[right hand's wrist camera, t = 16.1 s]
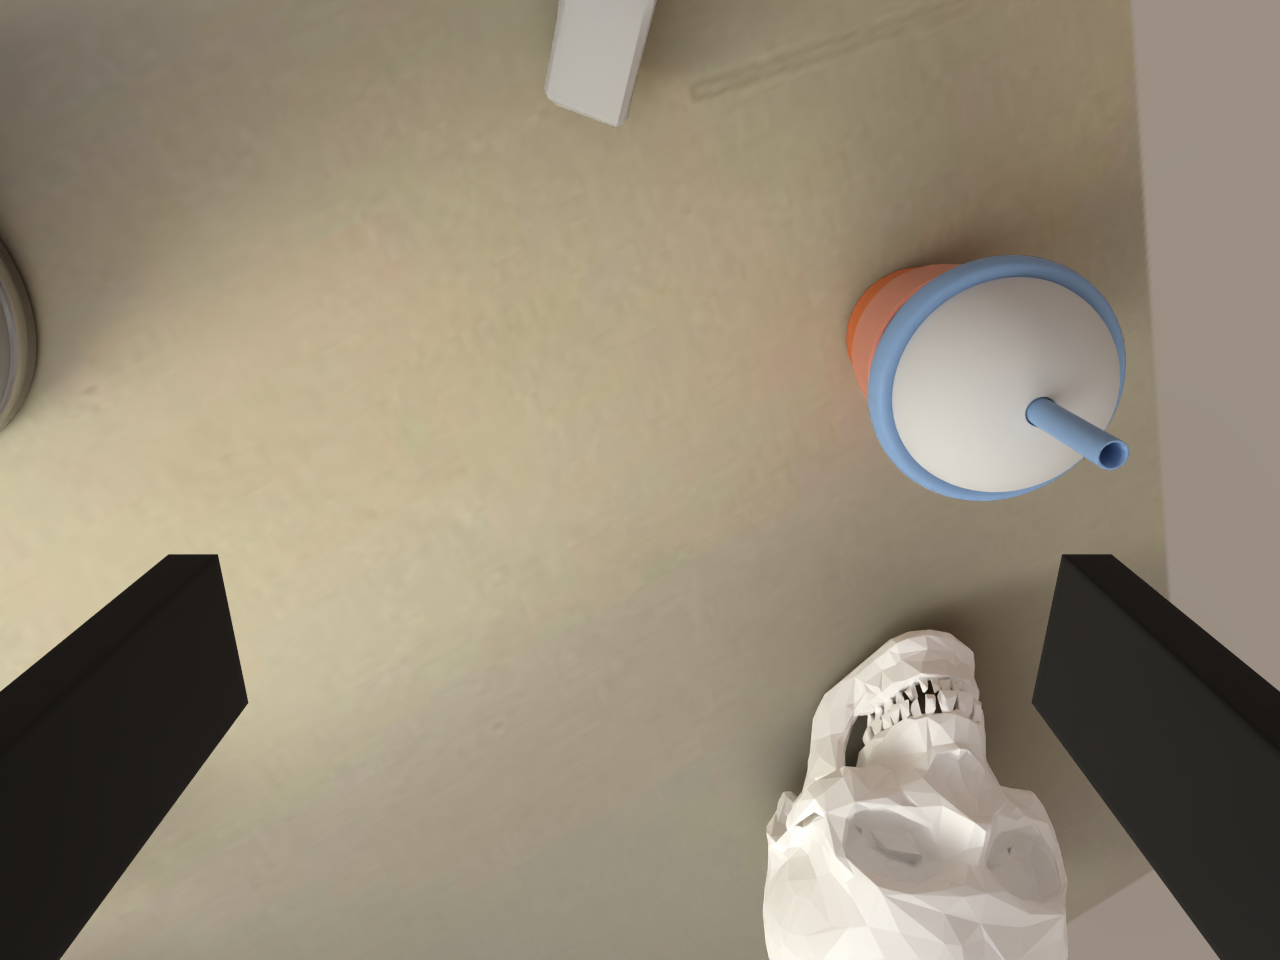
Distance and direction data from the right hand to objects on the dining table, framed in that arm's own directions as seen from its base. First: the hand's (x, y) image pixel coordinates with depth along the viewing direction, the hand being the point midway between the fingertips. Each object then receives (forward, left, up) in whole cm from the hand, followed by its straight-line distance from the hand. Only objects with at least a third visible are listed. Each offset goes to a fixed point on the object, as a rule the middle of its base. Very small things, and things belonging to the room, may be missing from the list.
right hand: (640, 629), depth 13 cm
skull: (-22, -21, -28) cm, 41 cm away
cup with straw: (+3, -13, -28) cm, 31 cm away
